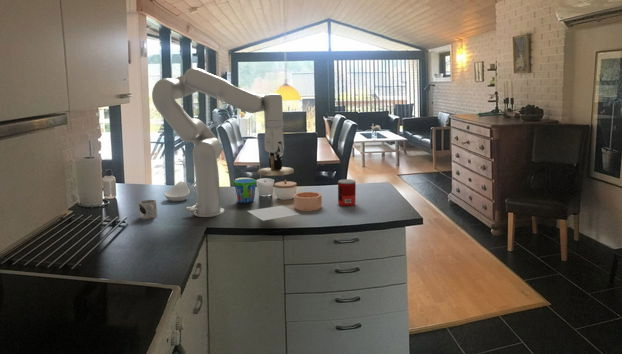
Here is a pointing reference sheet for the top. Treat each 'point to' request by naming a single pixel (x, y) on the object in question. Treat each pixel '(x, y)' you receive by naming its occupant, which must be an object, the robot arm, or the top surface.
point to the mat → (273, 213)
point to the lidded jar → (285, 190)
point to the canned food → (346, 192)
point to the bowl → (307, 201)
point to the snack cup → (245, 190)
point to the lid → (274, 172)
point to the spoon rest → (178, 192)
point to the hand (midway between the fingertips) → (275, 168)
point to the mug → (148, 209)
